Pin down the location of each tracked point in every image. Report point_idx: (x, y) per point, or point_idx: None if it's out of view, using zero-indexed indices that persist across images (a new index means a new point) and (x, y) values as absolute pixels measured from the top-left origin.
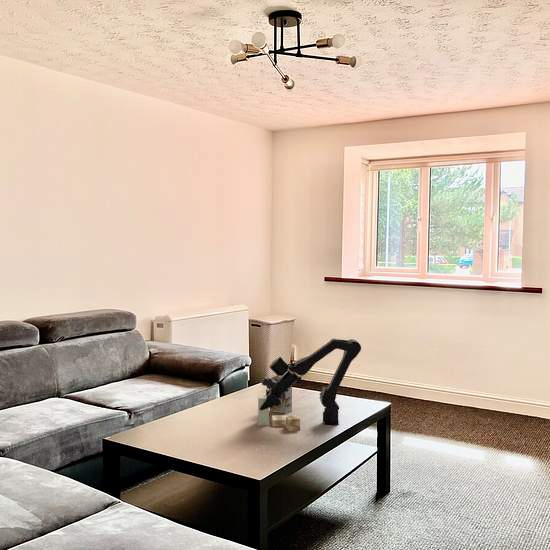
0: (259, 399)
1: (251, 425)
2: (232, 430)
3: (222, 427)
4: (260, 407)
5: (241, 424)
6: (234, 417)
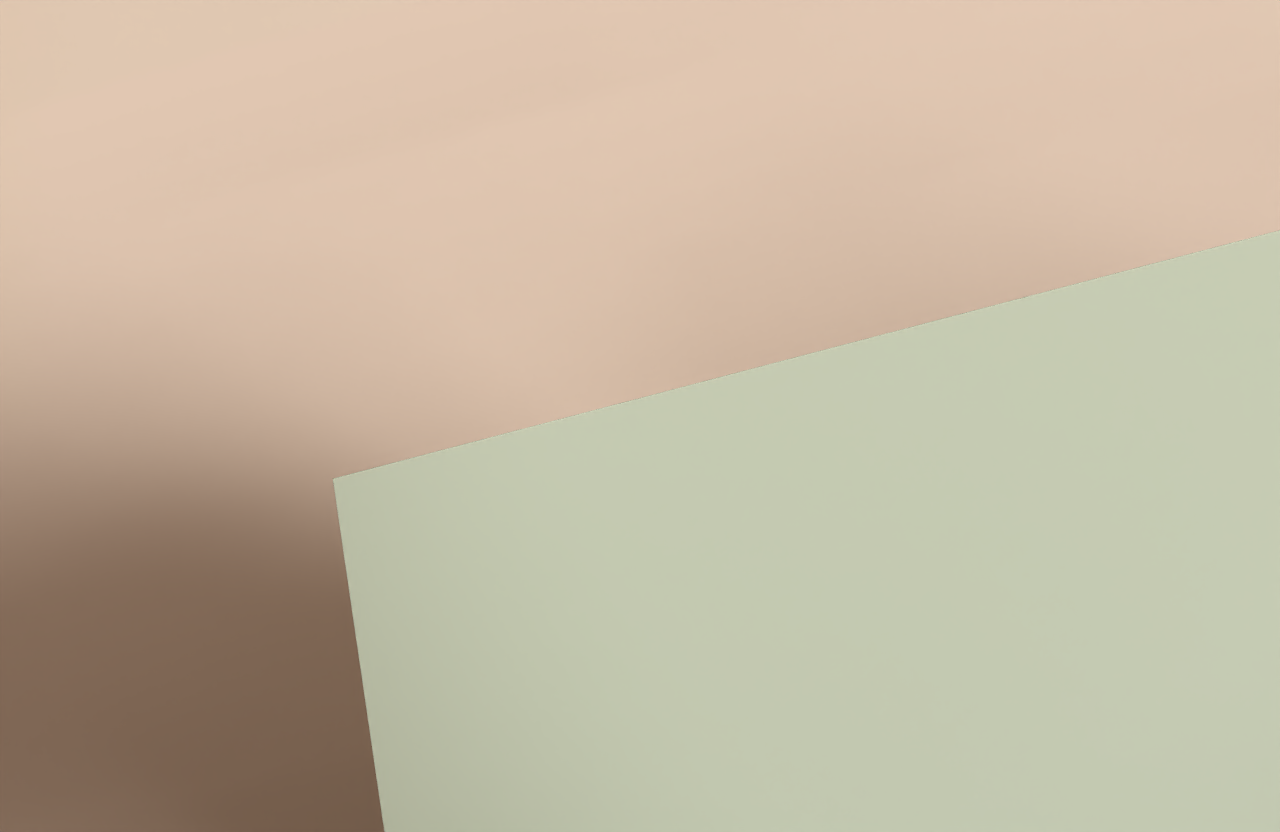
0: (389, 631)
1: None
2: (104, 240)
3: (304, 3)
4: None
5: (595, 300)
6: (1104, 5)
